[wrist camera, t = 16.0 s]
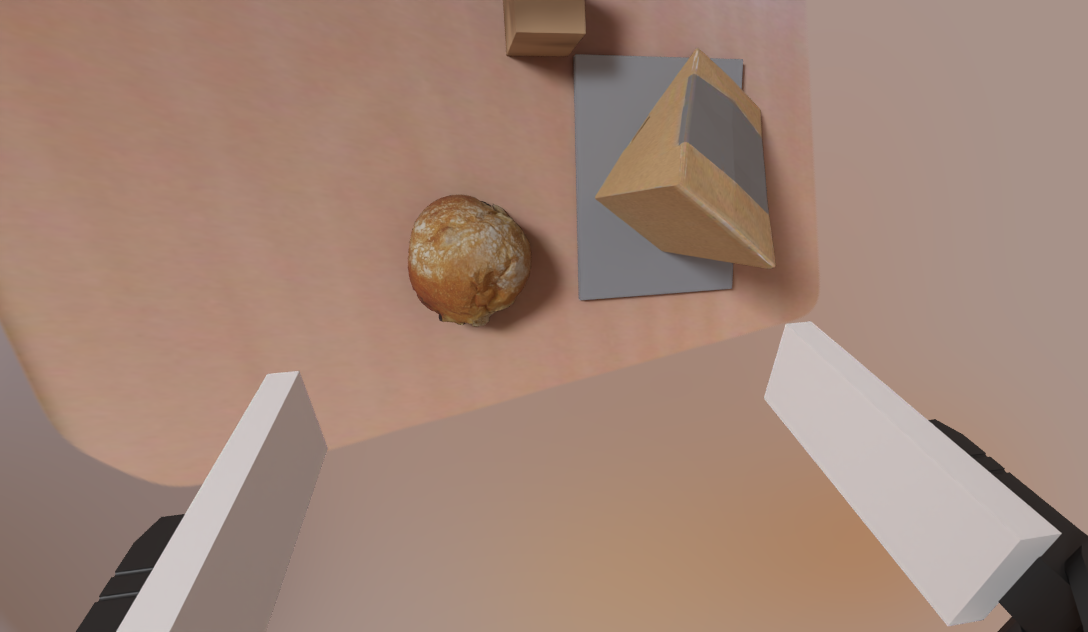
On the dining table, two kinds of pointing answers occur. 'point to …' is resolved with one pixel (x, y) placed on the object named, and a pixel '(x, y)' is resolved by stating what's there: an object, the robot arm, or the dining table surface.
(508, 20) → the wooden letter cube
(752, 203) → the sandwich container
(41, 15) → the dining table surface
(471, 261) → the bread roll
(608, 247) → the grey rubber mat
